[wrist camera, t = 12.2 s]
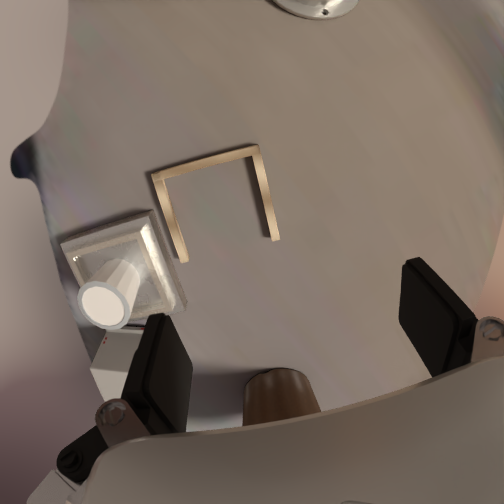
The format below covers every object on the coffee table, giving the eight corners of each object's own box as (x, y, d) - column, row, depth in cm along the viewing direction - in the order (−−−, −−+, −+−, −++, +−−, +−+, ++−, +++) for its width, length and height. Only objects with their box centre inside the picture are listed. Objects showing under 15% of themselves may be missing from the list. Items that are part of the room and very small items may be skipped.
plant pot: (334, 362, 51) (360, 436, 36) (304, 414, 57) (318, 480, 42) (243, 353, 48) (248, 437, 34) (226, 409, 55) (227, 480, 40)
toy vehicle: (128, 392, 52) (117, 432, 43) (104, 321, 44) (83, 363, 35) (172, 395, 53) (165, 438, 43) (156, 323, 45) (142, 370, 36)
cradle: (153, 172, 35) (151, 174, 34) (258, 144, 35) (258, 145, 34) (182, 258, 40) (181, 263, 39) (278, 236, 40) (280, 239, 39)
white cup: (100, 247, 36) (78, 273, 30) (148, 263, 38) (133, 292, 31) (95, 290, 39) (76, 319, 33) (140, 305, 40) (126, 337, 34)
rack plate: (68, 237, 38) (56, 247, 35) (153, 209, 37) (145, 219, 34) (106, 316, 44) (98, 331, 41) (187, 300, 43) (184, 316, 40)
